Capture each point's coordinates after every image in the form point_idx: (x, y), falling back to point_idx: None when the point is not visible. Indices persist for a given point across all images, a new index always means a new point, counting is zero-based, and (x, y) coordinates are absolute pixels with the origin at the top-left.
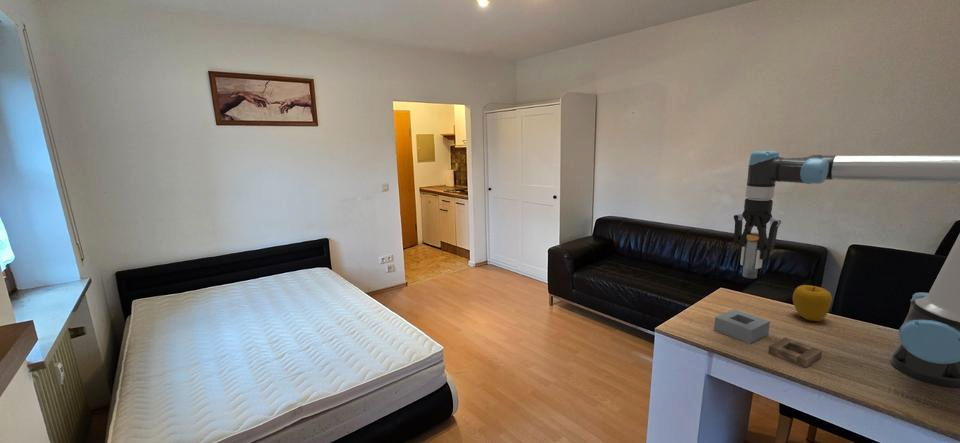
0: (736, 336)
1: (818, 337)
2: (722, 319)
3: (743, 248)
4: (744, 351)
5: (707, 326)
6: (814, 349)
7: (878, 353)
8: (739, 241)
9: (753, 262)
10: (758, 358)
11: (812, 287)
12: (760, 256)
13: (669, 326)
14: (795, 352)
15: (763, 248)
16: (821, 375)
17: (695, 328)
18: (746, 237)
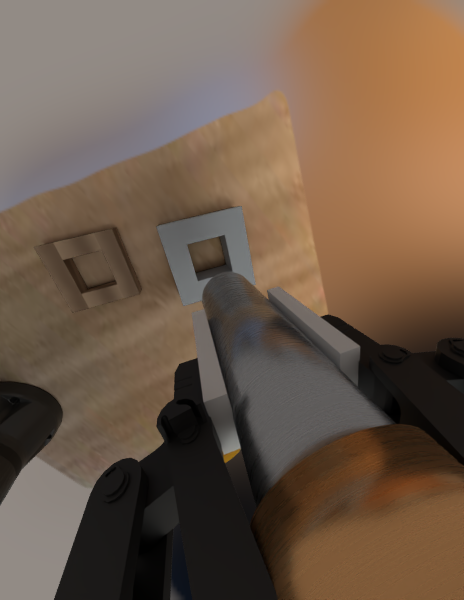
0: (186, 218)
1: (149, 362)
2: (225, 212)
3: (336, 341)
4: (133, 182)
5: (249, 207)
6: (79, 303)
7: (80, 399)
8: (438, 377)
9: (218, 318)
10: (98, 184)
11: (225, 455)
12: (199, 372)
13: (284, 114)
14: (73, 256)
15: (174, 444)
16: (10, 247)
17: (252, 171)
18: (461, 469)
